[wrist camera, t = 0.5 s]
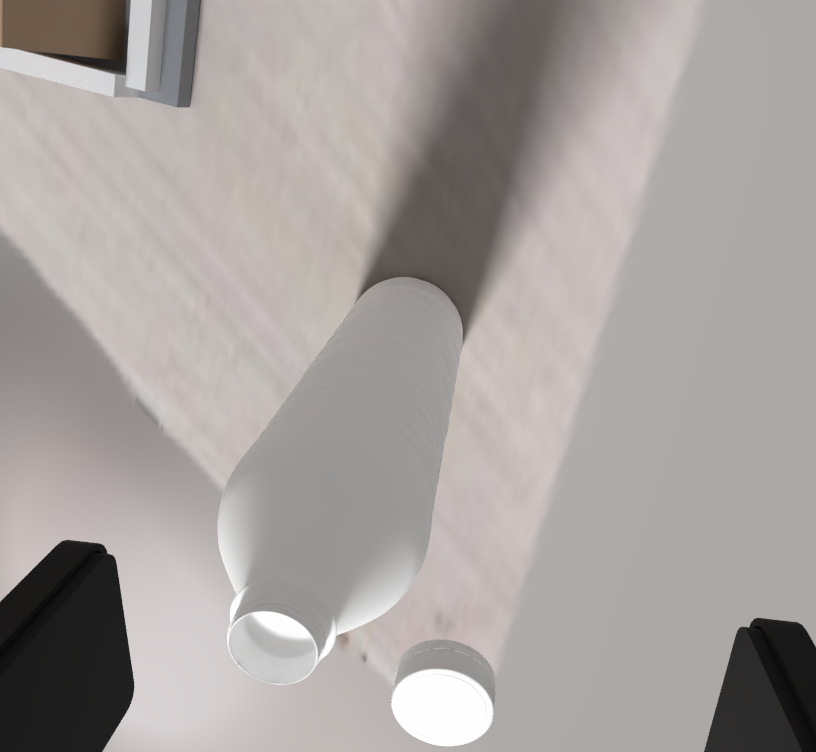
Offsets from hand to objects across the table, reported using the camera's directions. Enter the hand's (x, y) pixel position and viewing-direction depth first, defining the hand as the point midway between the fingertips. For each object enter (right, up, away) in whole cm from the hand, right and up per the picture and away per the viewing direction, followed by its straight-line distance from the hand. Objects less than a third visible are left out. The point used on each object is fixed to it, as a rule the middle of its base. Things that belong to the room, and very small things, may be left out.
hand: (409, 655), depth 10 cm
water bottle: (+1, +6, +29) cm, 30 cm away
